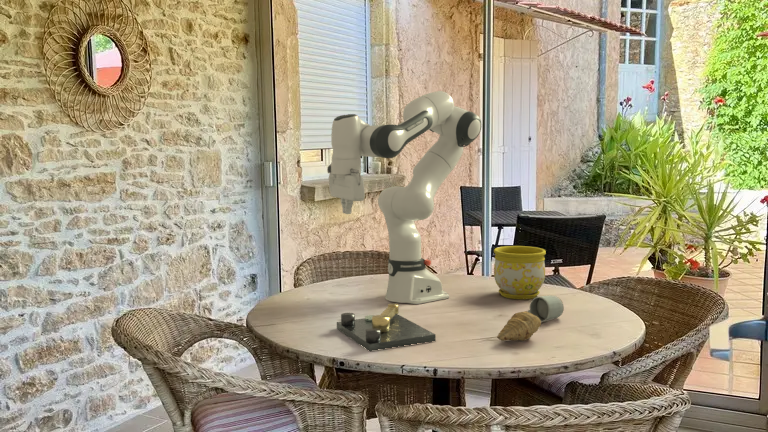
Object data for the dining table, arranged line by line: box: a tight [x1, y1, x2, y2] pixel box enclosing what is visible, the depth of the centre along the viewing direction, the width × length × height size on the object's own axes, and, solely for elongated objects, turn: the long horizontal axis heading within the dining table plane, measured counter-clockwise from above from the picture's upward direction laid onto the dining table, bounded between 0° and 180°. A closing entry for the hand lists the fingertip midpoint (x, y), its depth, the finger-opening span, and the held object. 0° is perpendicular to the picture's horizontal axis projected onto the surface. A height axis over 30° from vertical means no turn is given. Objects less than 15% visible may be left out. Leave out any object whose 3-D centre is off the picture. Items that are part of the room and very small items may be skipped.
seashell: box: [496, 310, 542, 342], centre depth 187 cm, size 14×8×8 cm, turn 132°
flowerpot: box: [493, 245, 547, 300], centre depth 240 cm, size 18×18×16 cm
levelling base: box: [336, 312, 437, 352], centre depth 195 cm, size 20×24×5 cm
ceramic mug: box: [527, 294, 565, 323], centre depth 211 cm, size 11×8×8 cm
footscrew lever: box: [372, 302, 400, 332], centre depth 199 cm, size 19×5×4 cm, turn 166°
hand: (347, 213), depth 208 cm, fingers closed
